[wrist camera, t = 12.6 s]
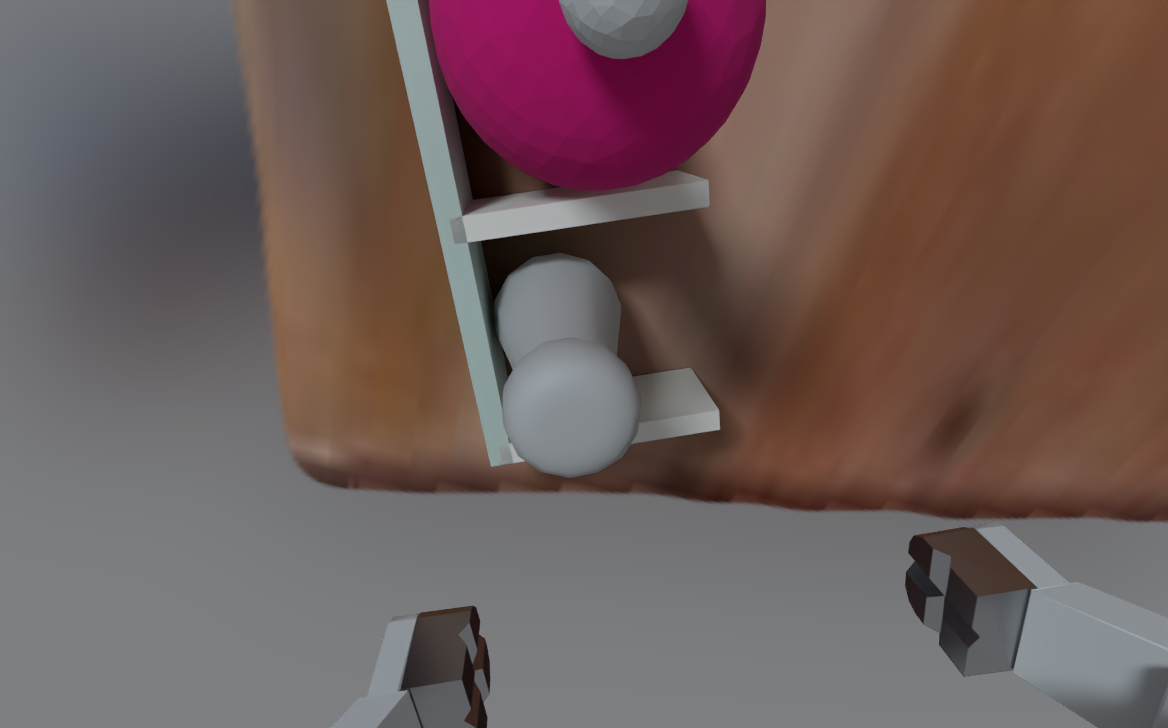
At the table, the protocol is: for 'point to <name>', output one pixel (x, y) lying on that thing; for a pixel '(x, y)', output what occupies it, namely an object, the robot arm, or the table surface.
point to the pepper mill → (596, 80)
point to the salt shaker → (565, 367)
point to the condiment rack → (463, 223)
